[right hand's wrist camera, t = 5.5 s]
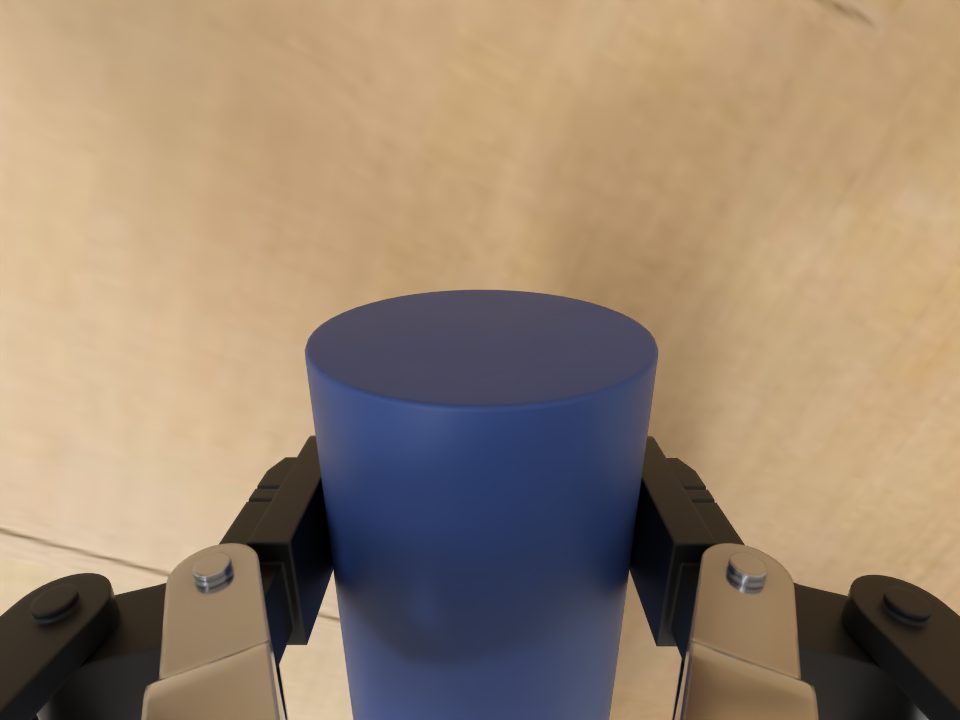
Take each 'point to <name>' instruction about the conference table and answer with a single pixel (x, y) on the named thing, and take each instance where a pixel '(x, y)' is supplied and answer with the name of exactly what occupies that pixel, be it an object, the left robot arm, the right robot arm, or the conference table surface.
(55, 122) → the conference table surface
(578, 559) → the rod
